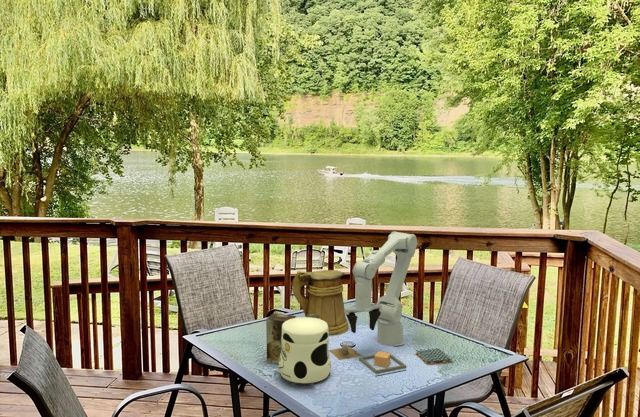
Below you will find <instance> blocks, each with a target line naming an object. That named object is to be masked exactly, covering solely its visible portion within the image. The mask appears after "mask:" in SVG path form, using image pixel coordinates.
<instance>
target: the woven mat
mask: <svg viewBox="0 0 640 417" xmlns="http://www.w3.org/2000/svg"><path fill="white" fill-rule="evenodd" d="M415 351H416V352H415V353H414V355H416V356H417V358H420V361H422V362H424V364H426V365H427V366H431V365H432V366H433V365H441V364H451V363H453V360H452V358H451V357H450V355H448V354H446V353H445V352H444V351H443V350H442V349H440V348H437V347H436V348H433V347H432V348H431V349H430V348H427V349H419V350H418V349H415Z"/></svg>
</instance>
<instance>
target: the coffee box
mask: <svg viewBox="0 0 640 417" xmlns="http://www.w3.org/2000/svg"><path fill="white" fill-rule="evenodd" d="M293 318H297V317H296V315H290V314H282V313H272V314H270V315H269V316H267V318H265V326H266V328H265V329H266V330H265V331H266V362H267V363H271V364H272V363H273V364H276V365H277V364H278V365H279V358H280V354H281V349H282V343H281V337H282V324H283V323H284V322H285V321H287V320H289V319H293Z"/></svg>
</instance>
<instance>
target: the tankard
mask: <svg viewBox="0 0 640 417" xmlns="http://www.w3.org/2000/svg"><path fill="white" fill-rule="evenodd" d="M344 275H345V272H344V271H341V270H337V269H324V270H316V271H315V270H314V271H309V272H308V271H302V270H297V271H296V275H295V276H294V278H293V280H292V284H291V286H292V288H291V289H292V293H293V295H294V298H295V299H296V301H297V303H298V304H299V305H300V306H301V308H302V310H303V313H304V317H305V316H306V315H309V314H316V315H319V316H320V319H321V320H323V321H325V322H326V323H327V325H328V331H329V335H328V337H330V336H337V335H343V334H345V333H347V332H348V331H349V329H350V328H349V327H350V326H349V320H348V318H347V316H346V314H345V313H344V308H345V304H344V296H343V292H344V286H343V282H342V281H341V278H342V277H343V276H344ZM306 285H307V286H306ZM304 286H306V288H305V290H306V291H307V292H308V296H306V295H304V294H303V293H302V288H303V287H304Z"/></svg>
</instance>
